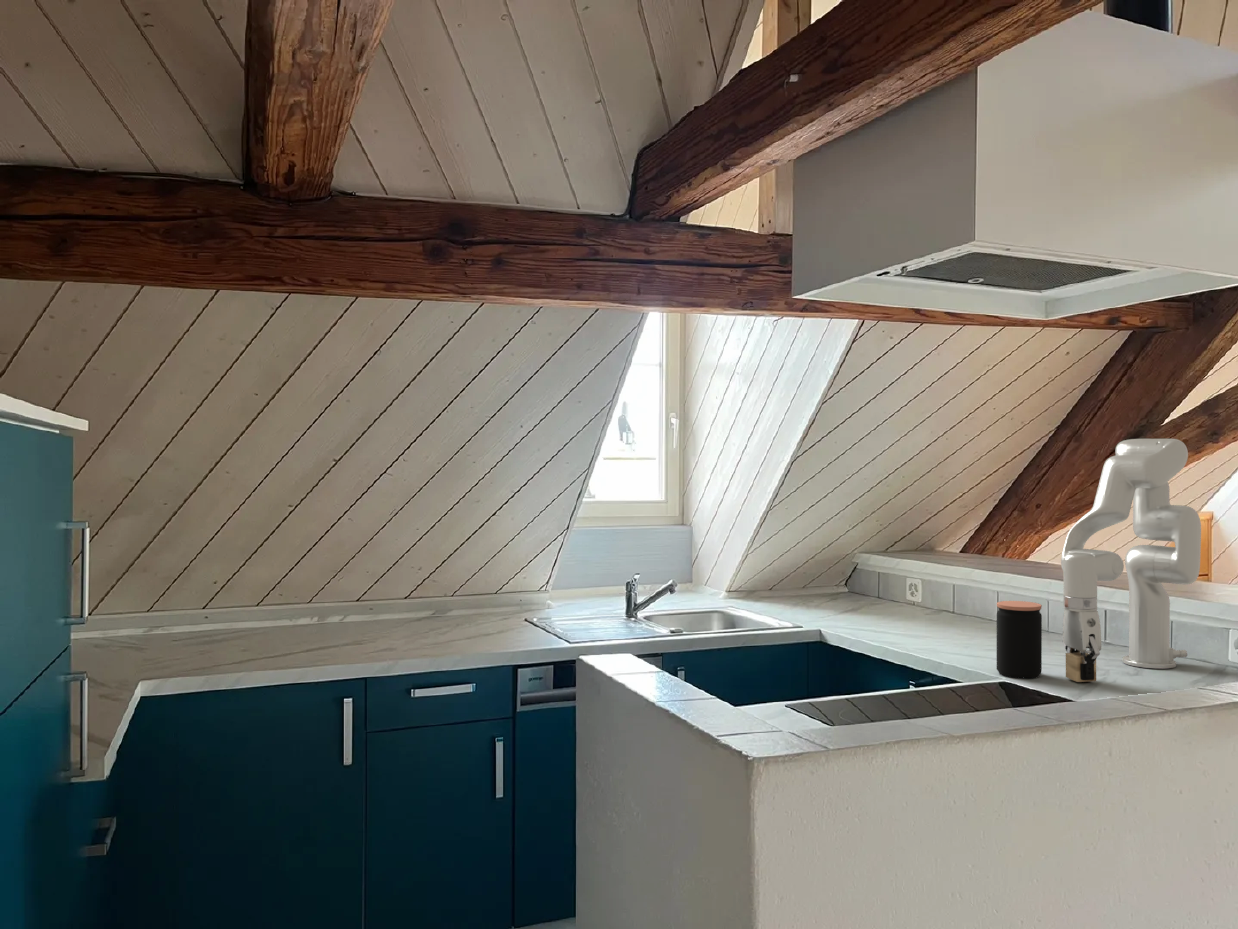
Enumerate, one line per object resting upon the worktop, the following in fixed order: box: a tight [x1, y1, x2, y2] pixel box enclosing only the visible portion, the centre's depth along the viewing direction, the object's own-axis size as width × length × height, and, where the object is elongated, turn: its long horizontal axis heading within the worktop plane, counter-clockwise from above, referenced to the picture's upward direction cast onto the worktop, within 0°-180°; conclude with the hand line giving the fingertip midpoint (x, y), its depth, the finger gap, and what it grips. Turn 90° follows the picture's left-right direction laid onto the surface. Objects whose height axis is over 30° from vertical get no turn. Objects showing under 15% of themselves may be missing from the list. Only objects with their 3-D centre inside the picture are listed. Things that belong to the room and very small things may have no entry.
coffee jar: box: [996, 600, 1043, 680], centre depth 253 cm, size 11×11×18 cm
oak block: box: [1065, 652, 1097, 683], centre depth 245 cm, size 5×5×6 cm
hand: (1080, 676), depth 245 cm, fingers closed on oak block, 5 cm apart
